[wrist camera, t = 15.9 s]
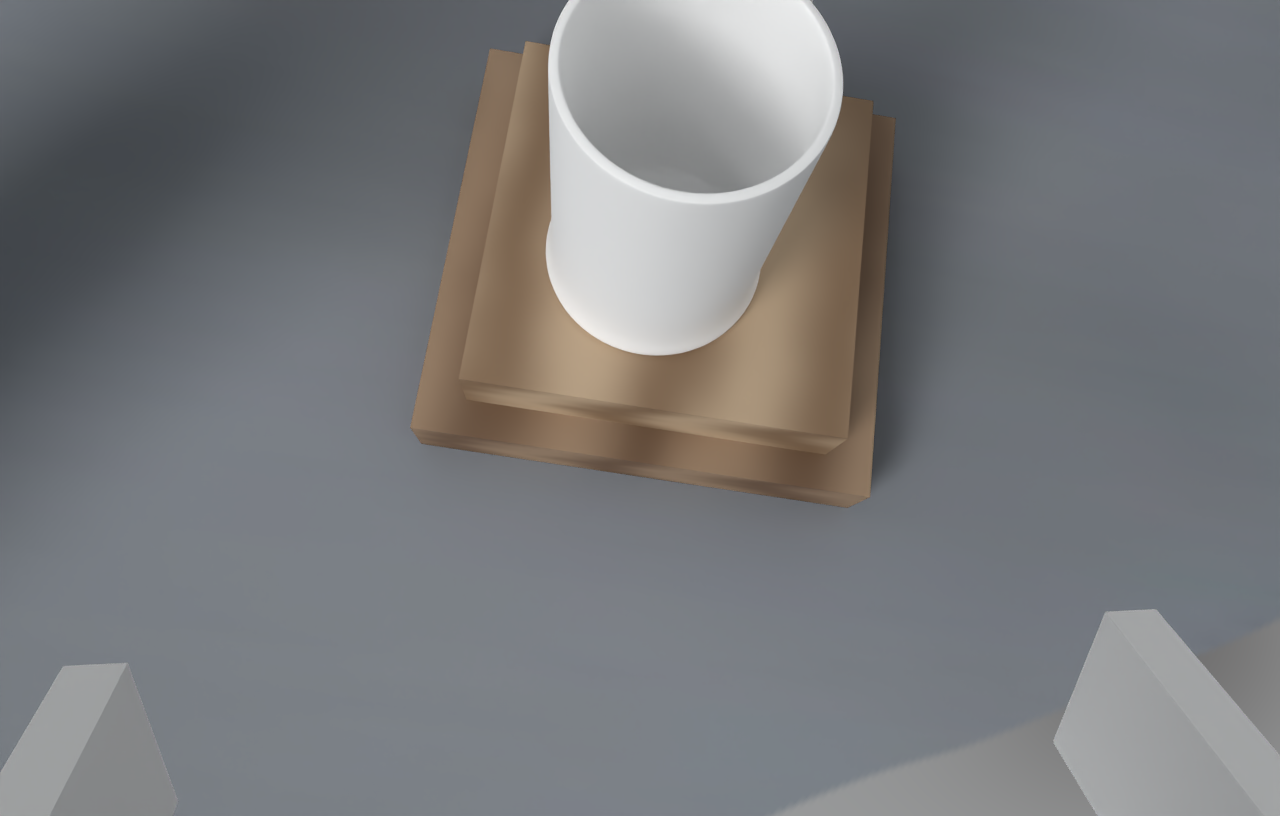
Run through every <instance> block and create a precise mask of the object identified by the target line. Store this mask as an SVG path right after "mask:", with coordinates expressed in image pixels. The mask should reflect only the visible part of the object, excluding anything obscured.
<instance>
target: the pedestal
mask: <svg viewBox="0 0 1280 816" xmlns="http://www.w3.org/2000/svg"><path fill="white" fill-rule="evenodd" d="M549 49H550V45H545V44H540V43H534V42H528V41H526V42H525V47H524V52H523V54H519V53H514V52H508V51H502V50H496V49H490V51H489V56H488V61H487V66H486V70H485V75H484V80H483V85H482V89H481V94H480V99H479V104H478V108H477V113H476V118H475V123H474V127H473V132H472V137H471V142H470V146H469V151H468V156H467V161H466V165H465V170H464V175H463V180H462V184H461V189H460V194H459V199H458V203H457V208H456V213H455V218H454V223H453V227H452V232H451V237H450V242H449V246H448V251H447V256H446V261H445V265H444V270H443V275H442V280H441V284H440V289H439V294H438V299H437V303H436V308H435V313H434V318H433V322H432V327H431V332H430V337H429V341H428V346H427V351H426V356H425V360H424V365H423V370H422V375H421V379H420V384H419V389H418V394H417V398H416V403H415V408H414V413H413V417H412V422H411V427H410V428H411V429H412V431H413V432H414V434H415V435H416V436H417V438H418V439H419V441H420V442H421V444H427V445H434V446H440V447H447V448H454V449H460V450H467V451H474V452H480V453H487V454H494V455H500V456H507V457H514V458H520V459H527V460H533V461H540V462H547V463H553V464H560V465H567V466H573V467H580V468H587V469H593V470H600V471H607V472H613V473H620V474H627V475H633V476H640V477H647V478H653V479H660V480H667V481H673V482H680V483H686V484H693V485H700V486H706V487H713V488H720V489H726V490H733V491H740V492H746V493H753V494H760V495H766V496H773V497H780V498H786V499H793V500H800V501H806V502H813V503H820V504H826V505H833V506H839V507H846V508H848V507H850V506H852V505H854V504H856V503H859V502H861V501H863V500H865V499H867V498H869V497H870V489H871V474H872V460H873V445H874V430H875V415H876V401H877V386H878V371H879V356H880V342H881V327H882V312H883V297H884V283H885V268H886V253H887V238H888V224H889V209H890V194H891V179H892V164H893V150H894V135H895V120H896V118H892V117H886V116H880V115H874V114H872V113H873V101H870V100H864V99H858V98H852V97H846V96H843V97H842V104H841V109H840V113H839V117H838V120H837V123H836V126H835V128H834V130H833V133H832V135H831V137H830V139H829V141H828V143H827V145H826V147H825V149H824V151H823V153H822V154H821V156H820V158H819V160H818V162H817V164H816V166H815V168H814V170H813V171H812V173H811V175H810V177H809V179H808V181H807V183H806V185H805V186H804V188H803V190H802V192H801V194H800V196H799V198H798V200H797V202H796V203H795V205H794V207H793V209H792V211H791V213H790V215H789V217H788V218H787V220H786V222H785V224H784V226H783V228H782V230H781V232H780V234H779V235H778V237H777V239H776V241H775V243H774V245H773V247H772V249H771V250H770V252H769V254H768V256H767V258H766V260H765V262H764V264H763V266H762V267H761V269H760V276H759V280H758V284H757V287H756V290H755V293H754V295H753V298H752V300H751V302H750V304H749V305H748V307H747V309H746V310H745V312H744V313H743V314H742V316H741V317H740V318H739V319H738V321H737V322H736V323H735V324H734V325H733V326H732V327H731V328H730V329H729V330H727V331H726V332H725V333H724V334H722V335H721V336H720V337H718V338H717V339H715V340H713V341H712V342H710V343H708V344H706V345H704V346H702V347H699V348H697V349H694V350H691V351H688V352H684V353H679V354H673V355H661V356H654V355H642V354H636V353H631V352H627V351H624V350H621V349H618V348H615V347H613V346H610V345H608V344H606V343H604V342H602V341H600V340H599V339H597V338H595V337H594V336H592V335H591V334H589V333H588V332H587V331H585V330H584V329H583V328H582V327H581V326H580V325H579V324H577V323H576V322H575V320H574V319H573V318H572V317H571V316H570V315H569V314H568V312H567V311H566V310H565V308H564V307H563V306H562V304H561V302H560V301H559V299H558V297H557V295H556V293H555V291H554V289H553V286H552V284H551V281H550V278H549V274H548V269H547V263H546V239H547V233H548V228H549V224H550V221H551V180H550V137H549V94H548V58H549Z"/></svg>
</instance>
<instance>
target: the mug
mask: <svg viewBox="0 0 1280 816" xmlns="http://www.w3.org/2000/svg"><path fill="white" fill-rule="evenodd" d="M812 2H813V0H569V1H568V3H567V4H566V6H565V7H564V9H563V11H562V13H561V14H560V16H559V19H558V21H557V23H556V26H555V29H554V32H553V35H552V39H551V44H550V49H549V58H548V94H549V137H550V180H551V221H550V224H549V228H548V233H547V239H546V263H547V269H548V274H549V278H550V281H551V284H552V286H553V289H554V291H555V293H556V295H557V297H558V299H559V301H560V302H561V304H562V306H563V307H564V308H565V310H566V311H567V312H568V314H569V315H570V316H571V317H572V318H573V319H574V320H575V322H576V323H577V324H579V325H580V326H581V327H582V328H583V329H584V330H585V331H587V332H588V333H589V334H591V335H592V336H594V337H595V338H597V339H599V340H600V341H602V342H604V343H606V344H608V345H610V346H613V347H615V348H618V349H621V350H624V351H627V352H631V353H636V354H642V355H654V356H661V355H673V354H679V353H684V352H688V351H691V350H694V349H697V348H699V347H702V346H704V345H706V344H708V343H710V342H712V341H713V340H715V339H717V338H718V337H720V336H721V335H722V334H724V333H725V332H726V331H727V330H729V329H730V328H731V327H732V326H733V325H734V324H735V323H736V322H737V321H738V319H739V318H740V317H741V316H742V314H743V313H744V312H745V310H746V309H747V307H748V305H749V304H750V302H751V300H752V298H753V295H754V293H755V290H756V287H757V284H758V280H759V276H760V269H761V267H762V266H763V264H764V262H765V260H766V258H767V256H768V254H769V252H770V250H771V249H772V247H773V245H774V243H775V241H776V239H777V237H778V235H779V234H780V232H781V230H782V228H783V226H784V224H785V222H786V220H787V218H788V217H789V215H790V213H791V211H792V209H793V207H794V205H795V203H796V202H797V200H798V198H799V196H800V194H801V192H802V190H803V188H804V186H805V185H806V183H807V181H808V179H809V177H810V175H811V173H812V171H813V170H814V168H815V166H816V164H817V162H818V160H819V158H820V156H821V154H822V153H823V151H824V149H825V147H826V145H827V143H828V141H829V139H830V137H831V135H832V133H833V130H834V128H835V126H836V123H837V120H838V117H839V113H840V109H841V104H842V97H843V73H842V65H841V60H840V56H839V52H838V49H837V46H836V43H835V40H834V38H833V36H832V33H831V31H830V29H829V27H828V25H827V24H826V22H825V20H824V19H823V17H822V16H821V14H820V13H819V11H818V10H817V9H816V7H815V6H814V5H813V3H812Z"/></svg>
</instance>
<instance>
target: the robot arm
mask: <svg viewBox="0 0 1280 816" xmlns="http://www.w3.org/2000/svg"><path fill="white" fill-rule="evenodd" d="M1053 743H1054V744H1055V746H1056V748H1057V749H1058V751H1059V752H1060V754H1061V756H1062V758H1063V759H1064V761H1065V763H1066V764H1067V766H1068V768H1069V769H1070V771H1071V773H1072V774H1073V776H1074V778H1075V779H1076V781H1077V783H1078V784H1079V786H1080V788H1081V789H1082V791H1083V793H1084V794H1085V796H1086V798H1087V799H1088V801H1089V802H1090V804H1091V806H1092V808H1093V809H1094V811H1095V813H1096V814H1097V816H1280V755H1279V754H1278V753H1277V751H1276V750H1275V749H1274V748H1273V747H1272V746H1271V745H1270V743H1269V742H1268V741H1267V740H1266V738H1265V737H1264V736H1263V735H1262V734H1261V733H1260V731H1259V730H1258V729H1257V728H1256V727H1255V725H1254V724H1253V723H1252V722H1251V721H1250V720H1249V718H1248V717H1247V716H1246V715H1245V714H1244V712H1243V711H1242V710H1241V709H1240V708H1239V707H1238V705H1237V704H1236V703H1235V702H1234V701H1233V699H1232V698H1231V697H1230V696H1229V695H1228V694H1227V692H1226V691H1225V690H1224V689H1223V688H1222V687H1221V685H1220V684H1219V683H1218V682H1217V681H1216V679H1215V678H1214V677H1213V676H1212V675H1211V674H1210V672H1209V671H1208V670H1207V669H1206V668H1205V666H1204V665H1203V664H1202V663H1201V662H1200V661H1199V659H1198V658H1197V657H1196V656H1195V655H1194V653H1193V652H1192V651H1191V650H1190V649H1189V648H1188V646H1187V645H1186V644H1185V643H1184V642H1183V641H1182V639H1181V638H1180V637H1179V636H1178V635H1177V633H1176V632H1175V631H1174V630H1173V629H1172V628H1171V626H1170V625H1169V624H1168V623H1167V622H1166V620H1165V619H1164V618H1163V617H1162V616H1161V615H1160V613H1159V612H1158V611H1157V610H1156V609H1149V610H1130V611H1111V612H1105V614H1104V617H1103V619H1102V622H1101V624H1100V626H1099V629H1098V631H1097V634H1096V636H1095V639H1094V641H1093V644H1092V646H1091V649H1090V651H1089V654H1088V656H1087V659H1086V661H1085V664H1084V666H1083V669H1082V671H1081V674H1080V676H1079V679H1078V681H1077V684H1076V686H1075V688H1074V691H1073V693H1072V696H1071V698H1070V701H1069V703H1068V706H1067V708H1066V711H1065V713H1064V716H1063V718H1062V721H1061V723H1060V726H1059V728H1058V731H1057V733H1056V736H1055V738H1054V741H1053ZM177 803H178V799H177V797H176V794H175V791H174V788H173V786H172V783H171V780H170V778H169V775H168V772H167V769H166V767H165V764H164V761H163V758H162V756H161V753H160V750H159V747H158V745H157V742H156V739H155V736H154V734H153V731H152V728H151V725H150V723H149V720H148V717H147V714H146V712H145V709H144V706H143V704H142V701H141V698H140V695H139V693H138V690H137V687H136V684H135V682H134V679H133V676H132V673H131V671H130V668H129V665H128V663H114V664H95V665H76V666H63V667H62V669H61V671H60V672H59V674H58V676H57V677H56V679H55V681H54V682H53V684H52V686H51V687H50V689H49V691H48V693H47V694H46V696H45V698H44V699H43V701H42V703H41V704H40V706H39V708H38V709H37V711H36V713H35V715H34V716H33V718H32V720H31V721H30V723H29V725H28V726H27V728H26V730H25V731H24V733H23V735H22V737H21V738H20V740H19V742H18V743H17V745H16V747H15V748H14V750H13V752H12V754H11V755H10V757H9V759H8V760H7V762H6V764H5V765H4V767H3V769H2V770H1V772H0V816H173V814H174V811H175V809H176V806H177Z"/></svg>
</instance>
